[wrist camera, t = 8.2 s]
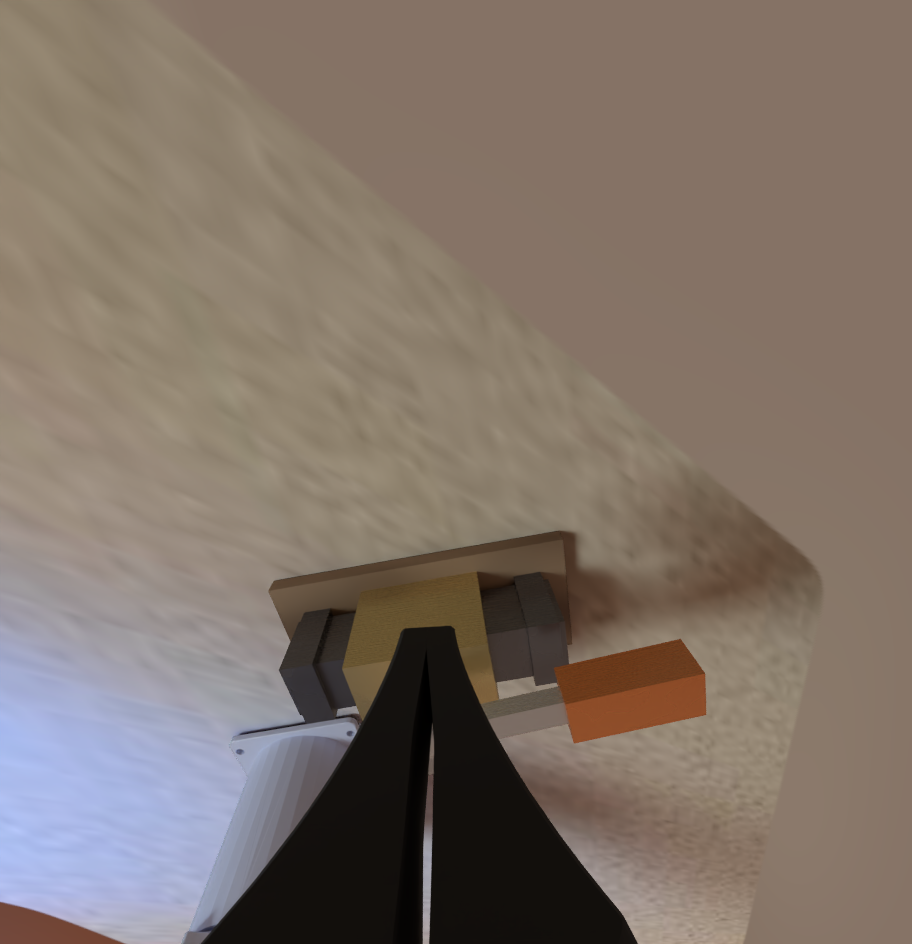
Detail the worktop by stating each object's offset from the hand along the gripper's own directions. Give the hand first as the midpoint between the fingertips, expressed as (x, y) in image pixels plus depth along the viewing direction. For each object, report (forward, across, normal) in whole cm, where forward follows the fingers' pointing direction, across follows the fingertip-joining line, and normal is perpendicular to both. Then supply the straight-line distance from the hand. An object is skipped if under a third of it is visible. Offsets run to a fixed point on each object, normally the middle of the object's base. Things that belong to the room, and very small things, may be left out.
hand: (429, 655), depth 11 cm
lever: (+3, -4, +6) cm, 8 cm away
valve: (+10, +1, +7) cm, 12 cm away
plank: (+10, +1, +7) cm, 12 cm away
